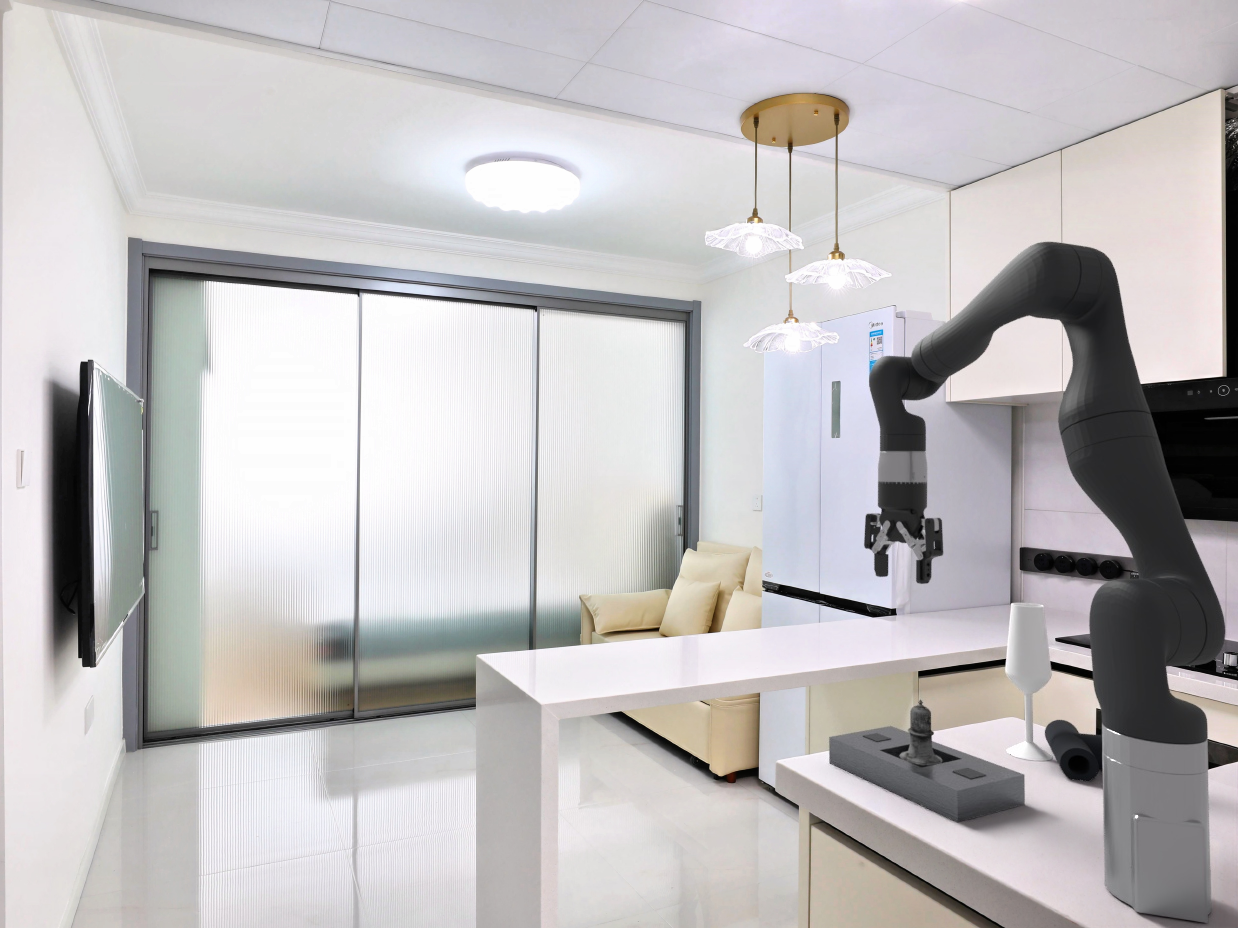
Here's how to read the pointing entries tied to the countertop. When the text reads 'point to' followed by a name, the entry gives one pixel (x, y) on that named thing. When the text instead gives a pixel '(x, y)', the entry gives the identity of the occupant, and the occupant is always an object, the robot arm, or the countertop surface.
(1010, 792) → the gray slotted block
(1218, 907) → the countertop surface
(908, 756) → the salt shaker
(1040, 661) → the champagne flute
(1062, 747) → the pipe connector
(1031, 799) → the countertop surface
